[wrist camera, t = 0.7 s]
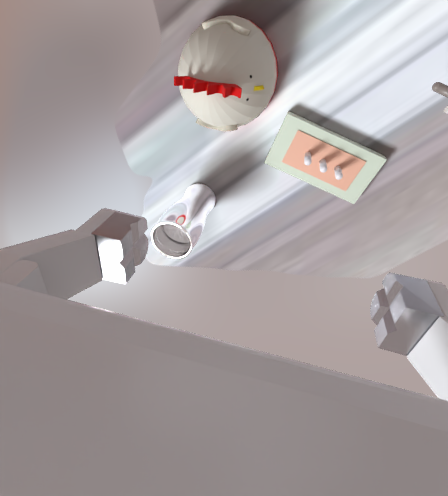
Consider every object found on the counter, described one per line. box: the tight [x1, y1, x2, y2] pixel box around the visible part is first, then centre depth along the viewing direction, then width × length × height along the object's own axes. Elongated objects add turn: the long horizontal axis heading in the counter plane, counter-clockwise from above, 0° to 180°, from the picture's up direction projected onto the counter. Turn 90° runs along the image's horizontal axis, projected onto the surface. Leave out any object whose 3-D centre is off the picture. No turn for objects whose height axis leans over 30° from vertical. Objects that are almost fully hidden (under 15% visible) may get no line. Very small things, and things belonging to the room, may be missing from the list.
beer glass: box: [151, 183, 216, 259], centre depth 51 cm, size 7×7×15 cm
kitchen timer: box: [174, 15, 278, 131], centre depth 38 cm, size 14×14×15 cm
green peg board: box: [264, 111, 387, 204], centre depth 45 cm, size 8×16×5 cm, turn 70°
